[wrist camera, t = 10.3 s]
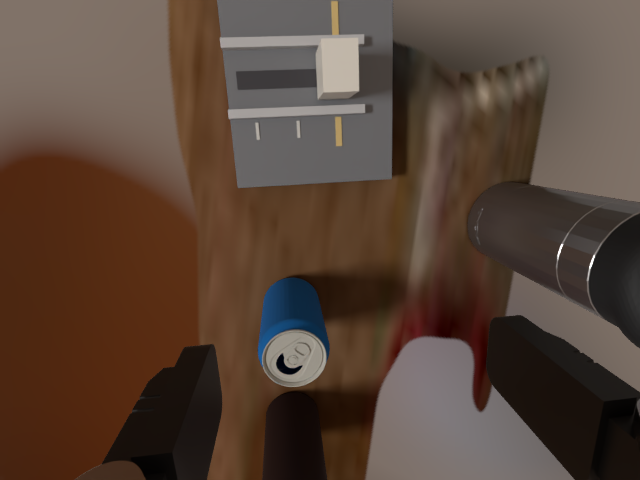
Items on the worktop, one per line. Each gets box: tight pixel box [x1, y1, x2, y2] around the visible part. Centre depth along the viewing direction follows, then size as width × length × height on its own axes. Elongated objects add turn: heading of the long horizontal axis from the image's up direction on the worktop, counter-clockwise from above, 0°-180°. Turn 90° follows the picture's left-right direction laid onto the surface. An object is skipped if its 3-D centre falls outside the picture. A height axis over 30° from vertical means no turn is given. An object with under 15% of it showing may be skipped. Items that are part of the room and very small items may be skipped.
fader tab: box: [316, 38, 359, 100], centre depth 31 cm, size 3×4×5 cm
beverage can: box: [258, 278, 330, 387], centre depth 36 cm, size 6×6×12 cm
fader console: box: [217, 0, 393, 188], centre depth 35 cm, size 16×18×3 cm
